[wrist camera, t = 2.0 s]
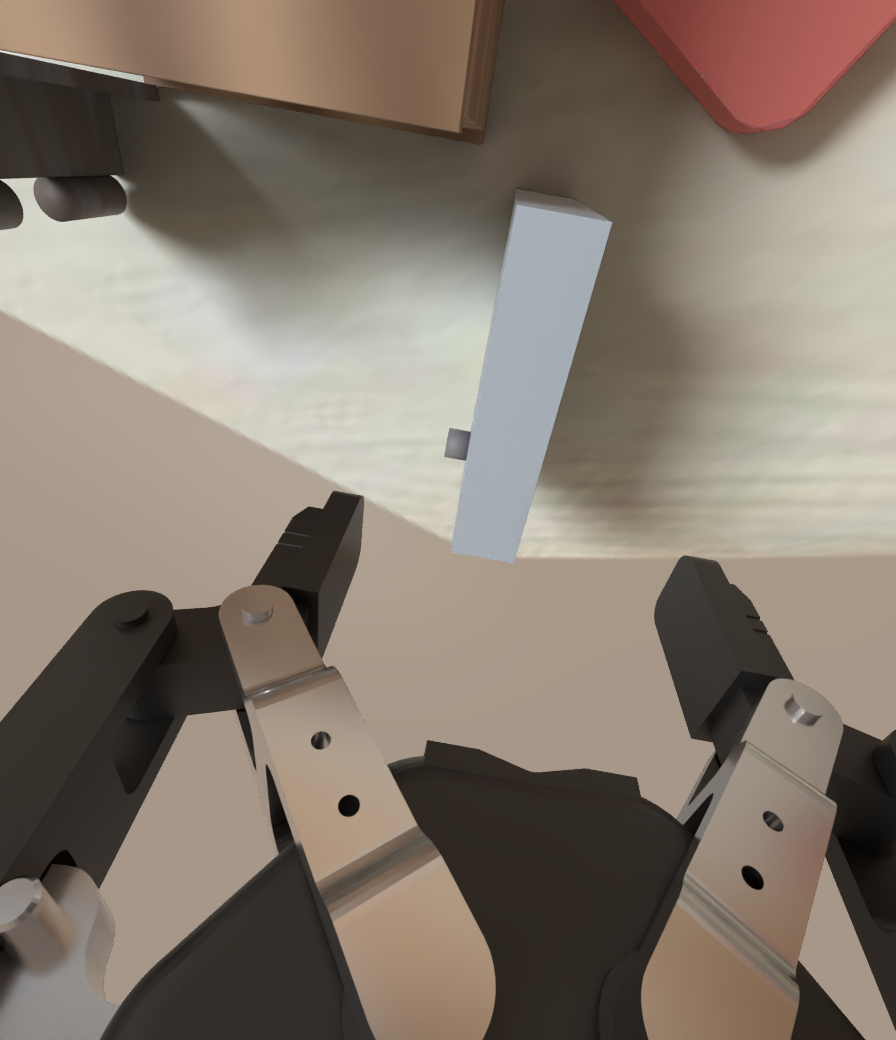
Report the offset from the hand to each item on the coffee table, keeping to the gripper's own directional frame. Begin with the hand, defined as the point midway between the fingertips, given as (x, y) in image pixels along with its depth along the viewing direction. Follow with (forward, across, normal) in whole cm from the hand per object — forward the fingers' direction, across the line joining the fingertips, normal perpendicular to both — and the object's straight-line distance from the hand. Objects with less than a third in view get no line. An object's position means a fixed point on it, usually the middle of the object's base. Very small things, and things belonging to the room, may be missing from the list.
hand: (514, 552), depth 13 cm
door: (+20, 0, 0) cm, 21 cm away
